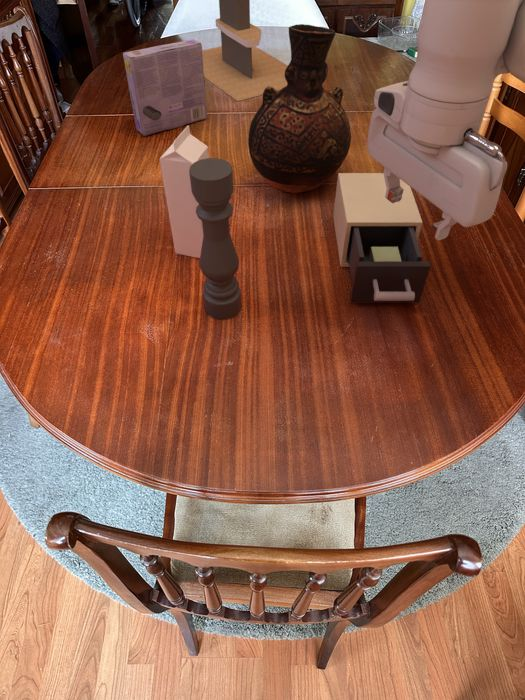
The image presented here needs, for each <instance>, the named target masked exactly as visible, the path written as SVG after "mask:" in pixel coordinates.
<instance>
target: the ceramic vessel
mask: <svg viewBox="0 0 525 700" xmlns="http://www.w3.org/2000/svg"><path fill="white" fill-rule="evenodd" d="M335 36H336V31H335V30H334V29H333V28H327V27H324V26H316V25H311V24H302V23H300V24H294V25H290V26H289V27H288V38H289V44H290V61H289V64H287V65H288V66H287V68H286V70H285V79H286V81H287V86H286V87H284V88H282V89H281V90H278V91H277V90H275V89H274V88H273V87H271V86H268V87H266V88H265V89H264V92H263V95H262V101H261V102H262V103H261V106H260V107H259V108H258V109H257V111H256V112H255V114H254V116H253V118H252V119H251V121H250V125H249V130H248V138H247V139H248V141H247V142H248V152H249V156H250V159H251V161H252V164H253V166H254V168H255V170H256V171H257V172H258V174H259V175H260V176H261V177H262V179H263V180H265V182H266V183H268V184H269V185H271V186H272V187H274V188H275V189H278V190H280V191H283V192H286V193H293V194H297V193H305V192H309V191H312V190H315V189H316V188H318V187H319V186H321V185H323V184H325V182H327V181H328V180H329V179H331V178H332V177H333V176H334V175H335V174H336V173H337V171H339V169H340V168H341V167H342V165H343V163H344V162H345V159H346V158H347V156H348V154H349V151H350V148H351V144H352V132H351V124H350V120H349V117H348V116H347V113H346V111H345V109H344V108H343V106H342V101H343V96H344V89H343V88H342V87H339V86H338V87H337V86H335V87H333V88H330V89H326V88H324V87H323V84H324V83H325V81H326V79H327V77H328V72H329V71H328V70H329V66H328V63H327V62H326V60H327V58H328V55H329V51H330V48H331V46H332V43H333V41H334V39H335Z"/></svg>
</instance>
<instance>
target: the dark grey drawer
mask: <svg viewBox="0 0 525 700" xmlns="http://www.w3.org/2000/svg"><path fill="white" fill-rule="evenodd" d="M371 247H398V250H399V253H400V257H401V261H368V260H369V255H370V250H371ZM347 255H348V261H349V267H348V268H349V273H350V279H351V290H350V295H349V299H350V303H355V304H356V303H359V304H361V303H363V304H364V303H367V304H368V303H371V304H372V303H373V304H374V303H379V304H380V303H381V304H382V303H385V304H387V303H388V304H389V303H392V304H393V303H395V304H396V303H399V304H401V303H402V304H403V303H404V304H405V303H406V304H408V303H409V304H410V303H411V304H412V303H420V302H421V298H422V296H423V295H422V294H423V291H424V289H425V286H426V282H427V279H428V276H429V273H430V270H431V264H430V263H431V262H430V261H428V260H427V261H426V260H425V261H423V254H422V251H421V247H420V244H419V240H418V241H417V238H416V235H415V231H414V228H413V226H351V231H350V237H349V244H348V250H347Z"/></svg>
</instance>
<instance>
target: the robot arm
mask: <svg viewBox="0 0 525 700" xmlns="http://www.w3.org/2000/svg"><path fill="white" fill-rule="evenodd" d="M418 25H419V26H418V30H417V35H416V44H417V45H416V47H417V50H416V51H417V53H416V60H415V63H414V65H413V68H412V70H411V72H410V74H409V77H408V80H405V81H401V82H397V83H393V84H389V85H386V86H383V87H380V88H377V89H376V90H375V92H374V97H373V105H374V107H375V108H374V109H373V111H372V114H371V115H370V121H369V125H368V126H369V127H368V132H367V140H366V148H367V152H368V155H369V157H370V158H371V159H373V160H374V161H375V162H377V163H378V164H380V165H381V166H382V167H383V172H382V173H383V174H384V178H385V183H386V187H387V189H386V194H385V198H386V199H387V200H389V201H390V202H391V203H395V202H399V201H400V200H401V199H402V194H403V191H404V189H403V188H401V187H400V179H401V180H402V181H403V182H405V183H406V184H407V185H409V186H410V187H411V189H413V191H415V192H417V193H418V195H420V196H422V197H423V198H425V199H426V200H427V201H429V202H430V203H431V204H433V205H434V206H435V207H437V208H438V209H440V210H441V212H442V215H441V217H442V220H439V221H438V222H433V223H432V225H431V230H430V232H429V234H430V236H432V237H433V238H434V239H436V240H437V241H441V240H445V239H446V238H447V237H448V236H449V234H450V231H451V228H452V227H453V226H455V225H456V224H458V225H460V226H462V227H464V228H471V227H474V226H477V225H480V224H483V223H484V222H486V221H488V220H490V219H491V218H492V217H493V215H494V214H495V211H496V208H497V205H498V202H499V198H500V195H501V190H502V186H503V181H504V177H505V175H506V172H507V170H508V161H506V157H505V155H504V153H503V152H502V151H503V150H502V147H501V146H500V145H499V144H498V143H496V142H493V141H490V140H488V139H487V138H486V137H484V136H483V135H482V134H480V133H479V132H480V129H481V125H482V122H483V120H484V116H485V113H486V110H487V108H488V107H487V106H488V103H489V101H490V98H491V95H492V92H493V88H494V82H495V80H496V79H497V78H498V77H499V76H500V75H504V74H510V75H511V76H513V77H514V78H516V79H517V80H518V81H520V82H522V83H523V84H525V0H424V4H423V8H422V12H421V16H420V21H419V24H418Z"/></svg>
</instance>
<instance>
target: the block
mask: <svg viewBox="0 0 525 700" xmlns="http://www.w3.org/2000/svg"><path fill="white" fill-rule="evenodd" d="M368 261H401V257H400V253H399V250H398V247H371V250H370V255H369V260H368Z"/></svg>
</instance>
